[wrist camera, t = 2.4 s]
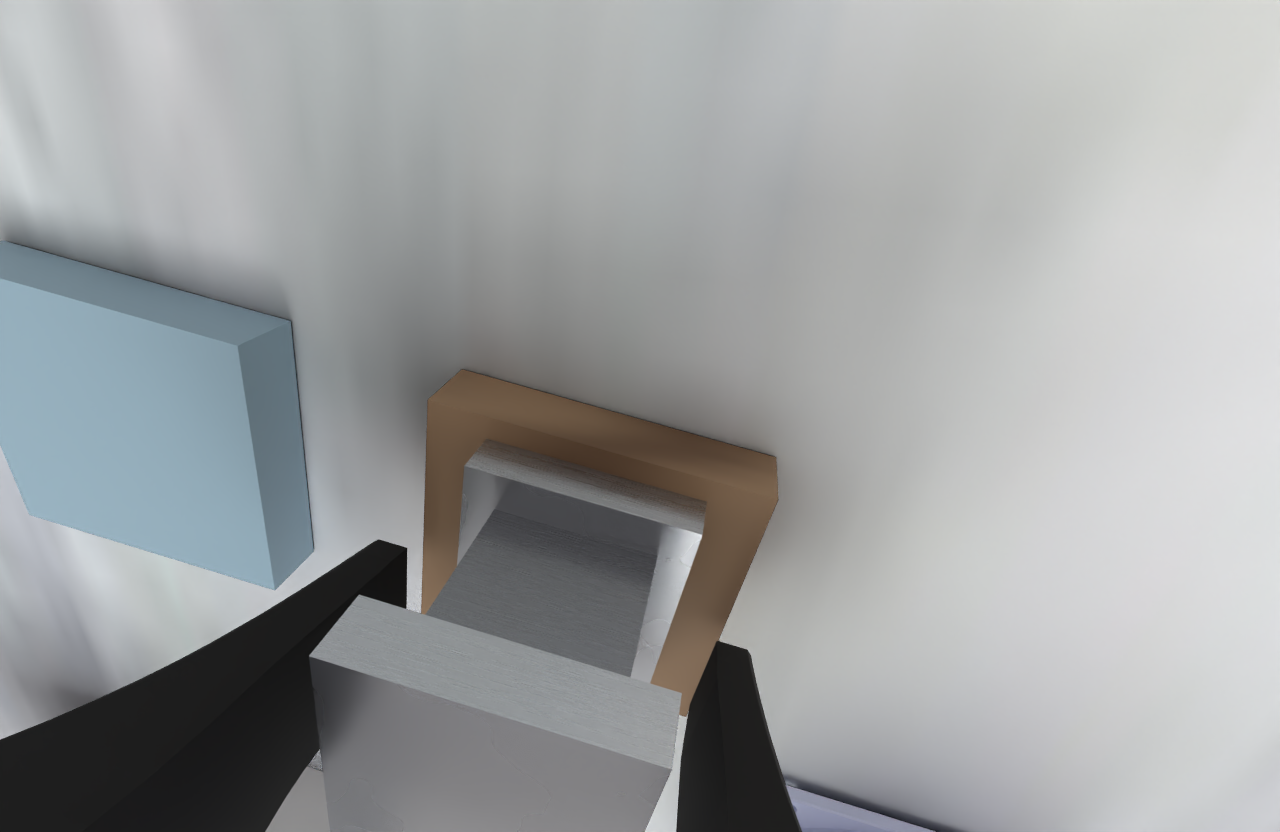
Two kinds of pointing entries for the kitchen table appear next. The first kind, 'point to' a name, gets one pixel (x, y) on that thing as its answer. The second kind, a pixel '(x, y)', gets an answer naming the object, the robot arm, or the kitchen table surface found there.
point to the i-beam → (516, 663)
